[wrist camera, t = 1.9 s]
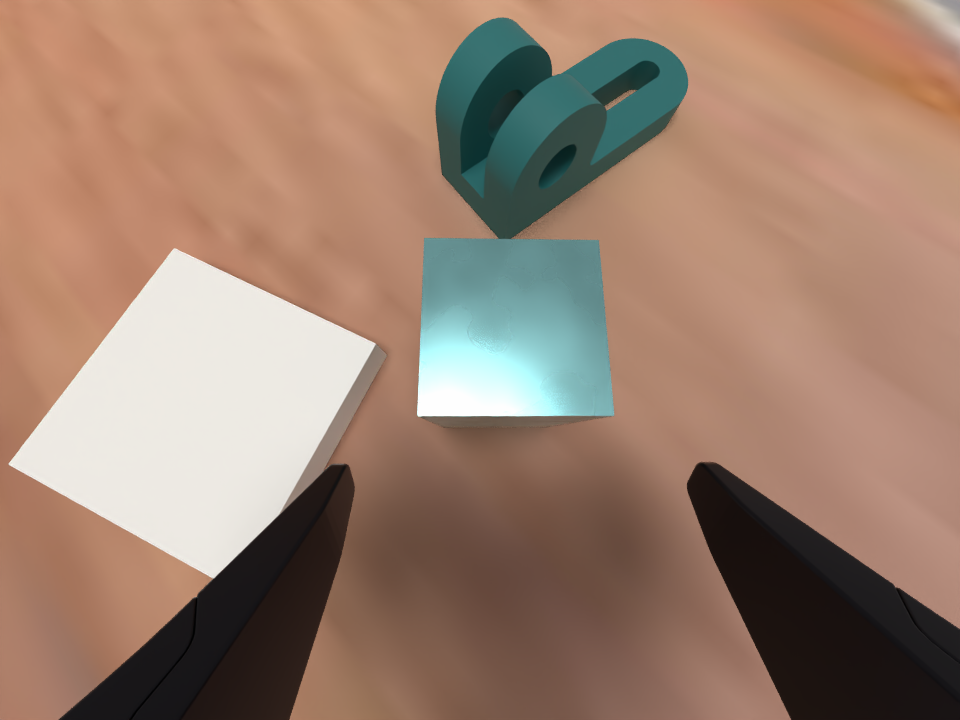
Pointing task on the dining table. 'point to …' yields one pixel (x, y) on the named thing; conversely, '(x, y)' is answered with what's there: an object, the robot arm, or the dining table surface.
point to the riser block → (202, 413)
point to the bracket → (545, 119)
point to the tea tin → (513, 333)
